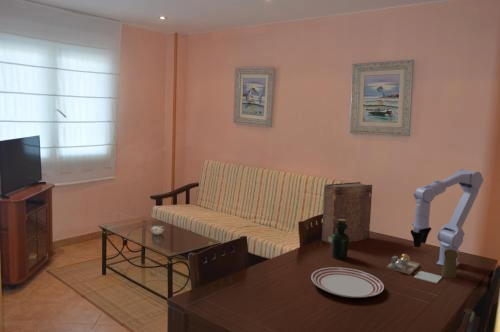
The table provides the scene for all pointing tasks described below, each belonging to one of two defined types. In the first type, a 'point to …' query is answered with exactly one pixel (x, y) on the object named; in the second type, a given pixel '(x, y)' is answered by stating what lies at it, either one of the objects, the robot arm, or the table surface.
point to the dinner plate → (347, 282)
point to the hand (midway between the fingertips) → (419, 245)
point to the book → (347, 210)
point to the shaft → (401, 260)
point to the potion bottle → (340, 241)
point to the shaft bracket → (403, 265)
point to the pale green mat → (428, 277)
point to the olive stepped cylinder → (450, 264)
